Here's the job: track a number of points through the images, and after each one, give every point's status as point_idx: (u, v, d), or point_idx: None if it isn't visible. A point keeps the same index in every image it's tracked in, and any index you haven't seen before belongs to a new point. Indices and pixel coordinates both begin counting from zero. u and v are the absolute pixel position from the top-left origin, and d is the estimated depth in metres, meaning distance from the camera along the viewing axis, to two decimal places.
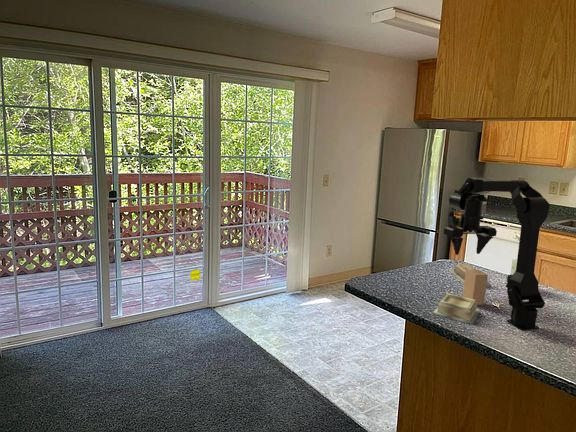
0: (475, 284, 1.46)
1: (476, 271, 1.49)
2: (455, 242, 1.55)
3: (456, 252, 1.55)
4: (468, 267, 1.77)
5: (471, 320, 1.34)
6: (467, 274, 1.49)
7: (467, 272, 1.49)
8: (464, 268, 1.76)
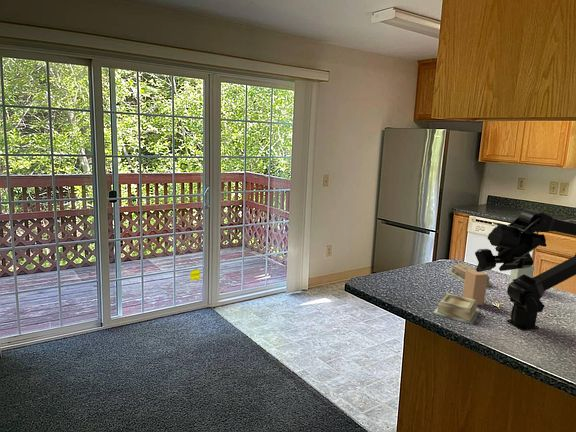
0: (475, 284, 1.46)
1: (476, 271, 1.49)
2: None
3: (477, 270, 1.40)
4: (467, 267, 1.77)
5: (471, 320, 1.34)
6: (467, 274, 1.49)
7: (467, 272, 1.49)
8: (464, 268, 1.75)
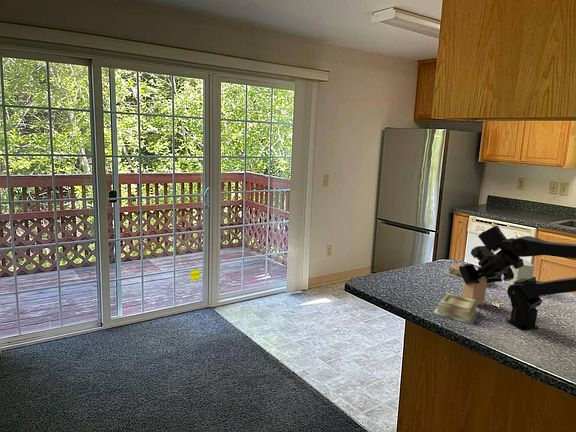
0: (475, 284, 1.46)
1: None
2: None
3: (466, 283, 1.49)
4: None
5: (471, 320, 1.34)
6: None
7: None
8: None
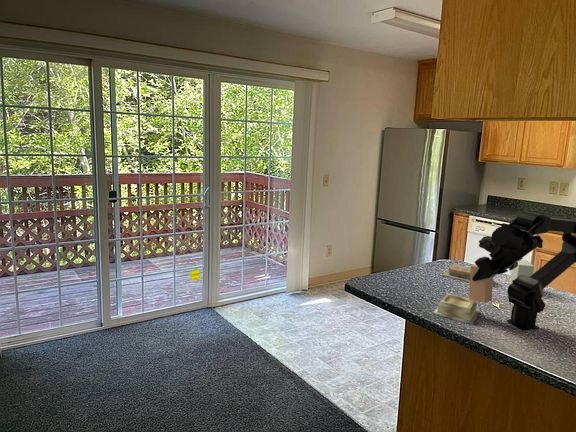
0: None
1: None
2: (482, 271, 1.32)
3: (475, 279, 1.35)
4: (464, 267, 1.76)
5: (471, 320, 1.34)
6: (473, 269, 1.36)
7: (473, 267, 1.36)
8: (465, 269, 1.74)
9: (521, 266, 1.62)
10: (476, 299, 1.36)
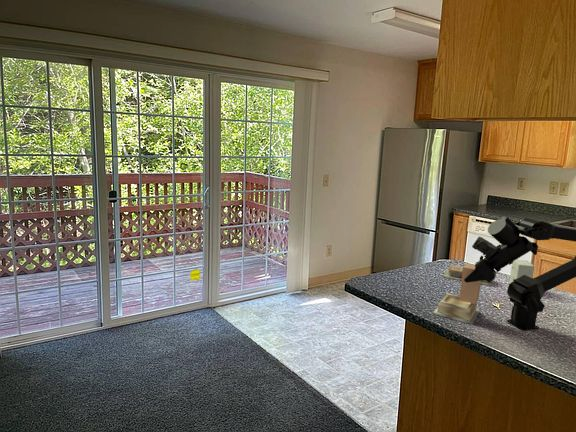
0: None
1: (470, 265, 1.36)
2: (476, 273, 1.31)
3: (467, 280, 1.34)
4: None
5: (471, 320, 1.34)
6: (466, 271, 1.34)
7: (465, 269, 1.34)
8: None
9: (521, 266, 1.62)
10: (467, 300, 1.35)
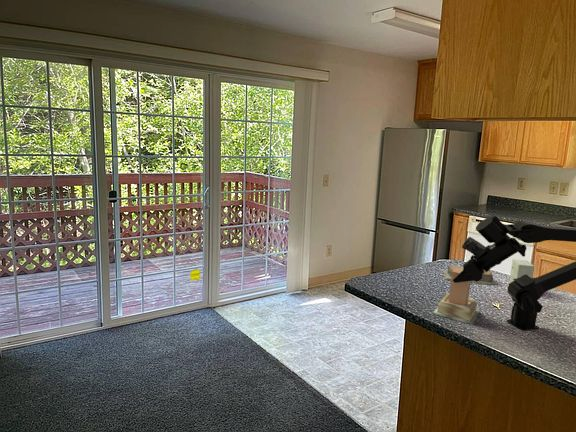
0: (467, 284, 1.35)
1: (459, 270, 1.39)
2: (464, 274, 1.33)
3: (456, 281, 1.35)
4: None
5: (471, 320, 1.34)
6: (455, 275, 1.37)
7: (455, 273, 1.37)
8: None
9: (521, 266, 1.62)
10: None
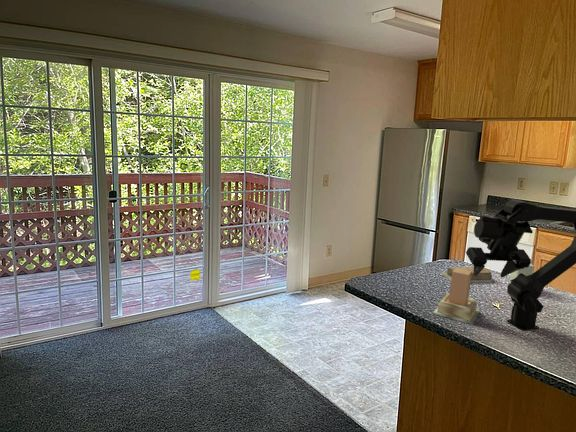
0: (467, 284, 1.35)
1: (459, 270, 1.39)
2: None
3: (474, 274, 1.38)
4: (463, 268, 1.75)
5: (471, 320, 1.34)
6: (455, 275, 1.37)
7: (455, 273, 1.37)
8: None
9: None
10: None
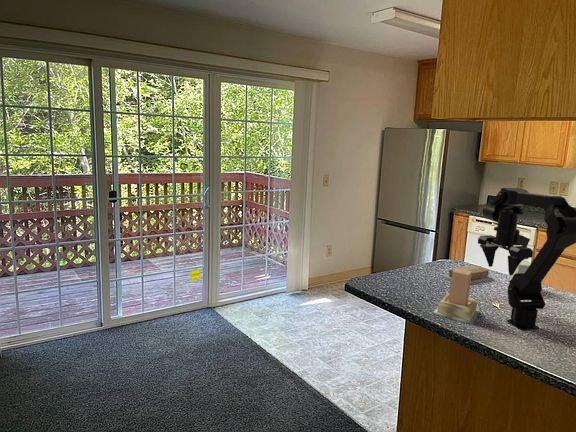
0: (467, 284, 1.35)
1: (459, 270, 1.39)
2: None
3: None
4: (464, 269, 1.74)
5: (471, 320, 1.34)
6: (455, 275, 1.37)
7: (455, 273, 1.37)
8: None
9: (521, 266, 1.62)
10: None
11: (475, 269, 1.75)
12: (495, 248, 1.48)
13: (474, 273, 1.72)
